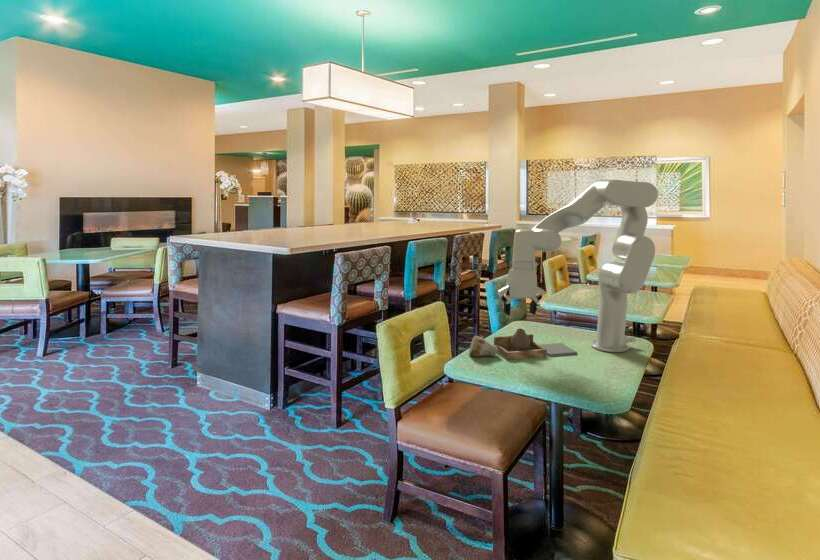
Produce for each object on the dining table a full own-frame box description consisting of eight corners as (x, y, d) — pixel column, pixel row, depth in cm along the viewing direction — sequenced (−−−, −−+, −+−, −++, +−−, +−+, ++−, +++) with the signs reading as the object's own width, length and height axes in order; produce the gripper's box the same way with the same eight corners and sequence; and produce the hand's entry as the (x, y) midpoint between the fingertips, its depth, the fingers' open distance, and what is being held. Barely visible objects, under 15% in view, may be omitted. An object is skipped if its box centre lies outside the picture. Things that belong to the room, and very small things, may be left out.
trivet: (560, 345, 196) (560, 342, 196) (577, 354, 186) (577, 351, 186) (533, 347, 194) (534, 344, 194) (549, 356, 183) (549, 354, 183)
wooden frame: (531, 347, 193) (532, 334, 193) (546, 356, 183) (547, 342, 182) (493, 350, 190) (494, 336, 189) (506, 359, 179) (507, 345, 178)
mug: (501, 360, 180) (488, 337, 177) (475, 369, 183) (462, 347, 180) (500, 348, 187) (488, 326, 184) (475, 357, 190) (463, 336, 186)
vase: (516, 357, 182) (517, 332, 180) (505, 351, 188) (506, 327, 187) (533, 355, 184) (534, 331, 183) (522, 349, 191) (523, 326, 189)
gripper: (540, 263, 186) (537, 310, 189) (495, 264, 182) (492, 312, 185) (551, 267, 179) (547, 315, 182) (504, 267, 175) (501, 317, 178)
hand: (519, 314), depth 184 cm, fingers open, 9 cm apart
